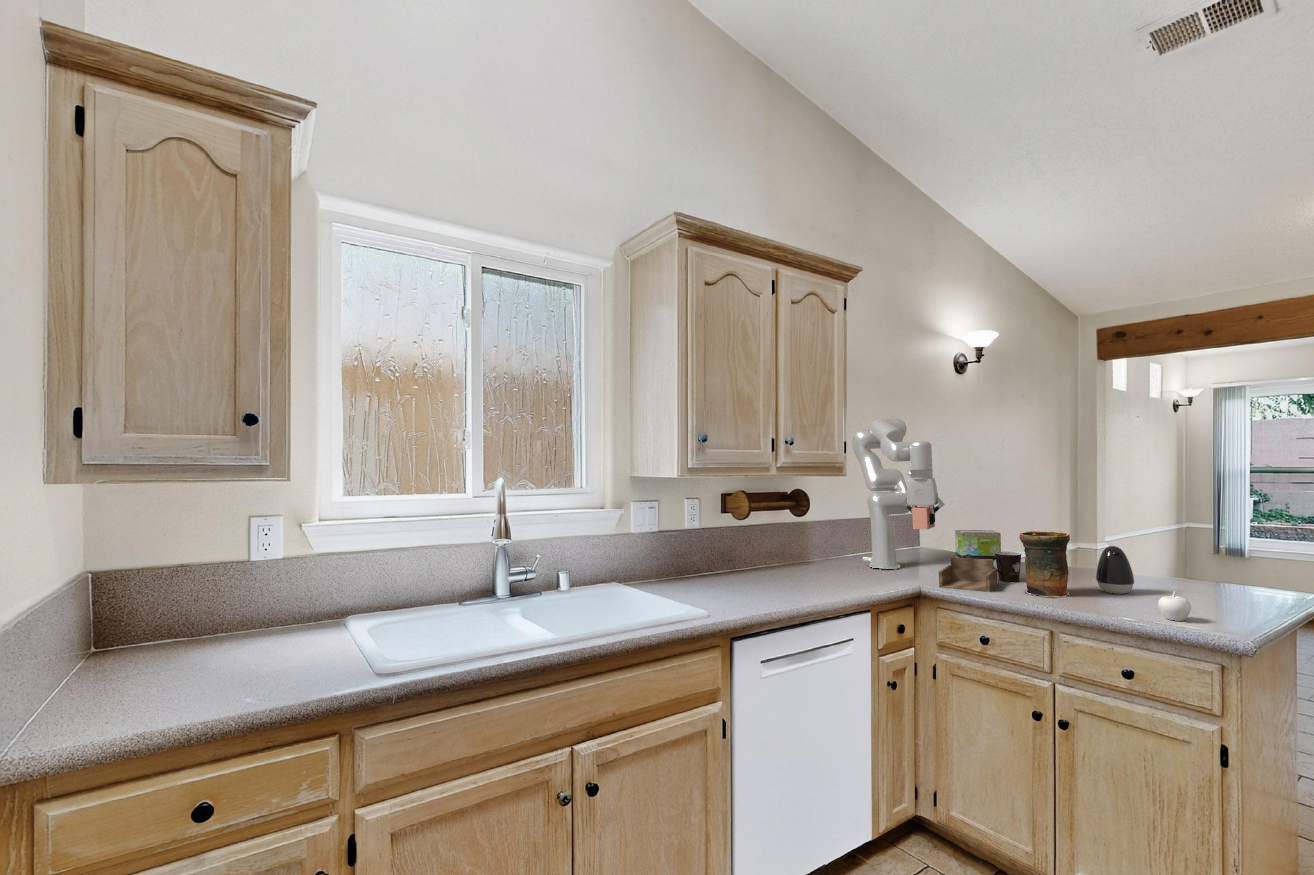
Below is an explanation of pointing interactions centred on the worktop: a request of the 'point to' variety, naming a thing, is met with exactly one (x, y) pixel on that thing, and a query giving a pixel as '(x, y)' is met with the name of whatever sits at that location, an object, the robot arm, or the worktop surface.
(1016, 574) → the coffee mug
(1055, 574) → the vessel
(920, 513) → the salmon pink block
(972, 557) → the tea box
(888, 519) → the robot arm
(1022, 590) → the worktop surface
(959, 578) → the stand
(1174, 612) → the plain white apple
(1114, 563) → the black rounded egg shape
